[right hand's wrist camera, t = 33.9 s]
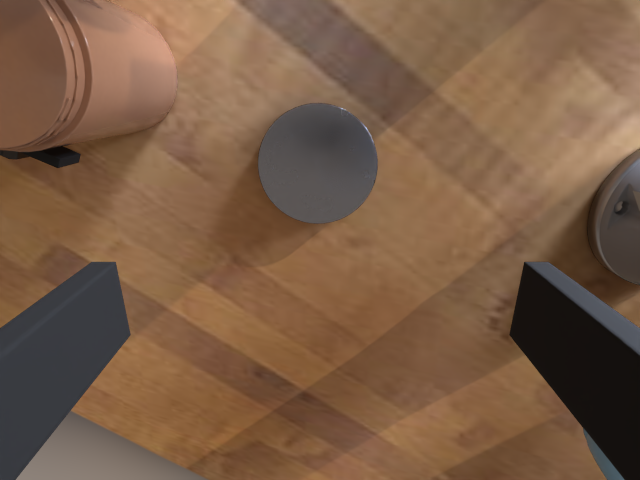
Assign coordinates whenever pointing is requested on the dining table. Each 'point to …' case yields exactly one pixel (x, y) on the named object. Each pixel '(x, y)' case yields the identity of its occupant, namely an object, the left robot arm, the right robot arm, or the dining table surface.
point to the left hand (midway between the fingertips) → (90, 76)
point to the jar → (79, 73)
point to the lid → (317, 163)
